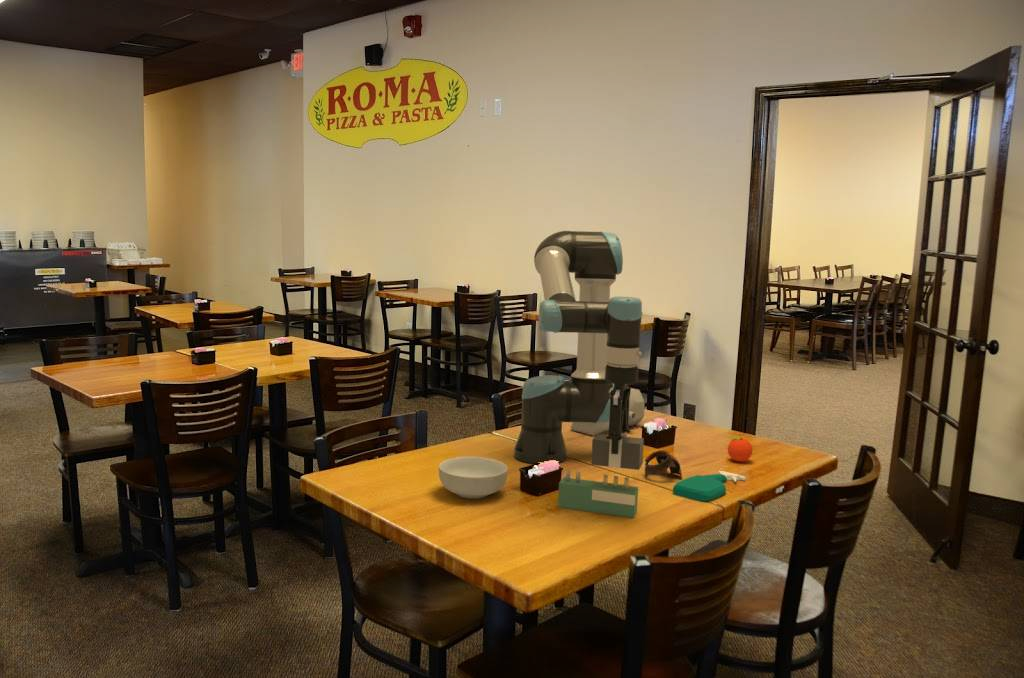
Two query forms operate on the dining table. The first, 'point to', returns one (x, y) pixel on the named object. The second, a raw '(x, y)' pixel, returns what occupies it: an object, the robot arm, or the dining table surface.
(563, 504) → the board
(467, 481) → the cereal bowl
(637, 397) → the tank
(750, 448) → the tomato
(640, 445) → the block
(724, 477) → the spray bottle
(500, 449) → the dining table surface
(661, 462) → the brown arched frame
